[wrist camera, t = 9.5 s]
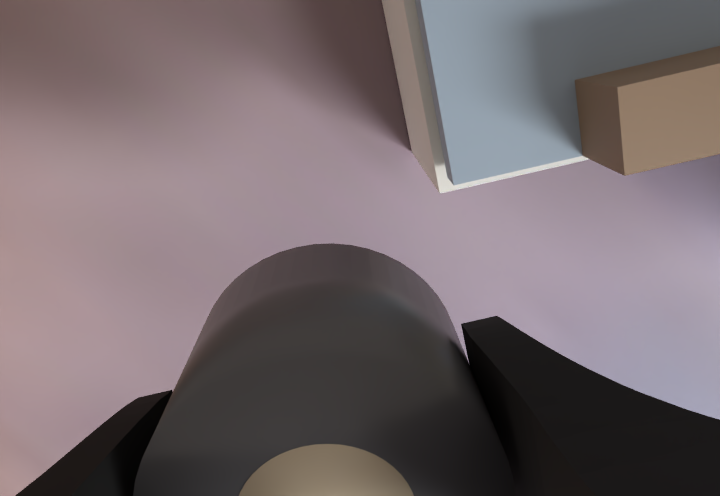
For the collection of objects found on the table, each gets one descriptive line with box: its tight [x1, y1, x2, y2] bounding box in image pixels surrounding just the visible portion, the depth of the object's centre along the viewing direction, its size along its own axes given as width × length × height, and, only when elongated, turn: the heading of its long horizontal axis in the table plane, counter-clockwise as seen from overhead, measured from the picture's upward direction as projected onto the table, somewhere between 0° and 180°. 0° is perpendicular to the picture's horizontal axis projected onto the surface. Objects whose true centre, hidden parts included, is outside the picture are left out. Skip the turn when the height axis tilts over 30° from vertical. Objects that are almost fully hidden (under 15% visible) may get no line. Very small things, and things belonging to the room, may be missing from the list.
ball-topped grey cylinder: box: [133, 244, 515, 496], centre depth 10 cm, size 5×5×4 cm
